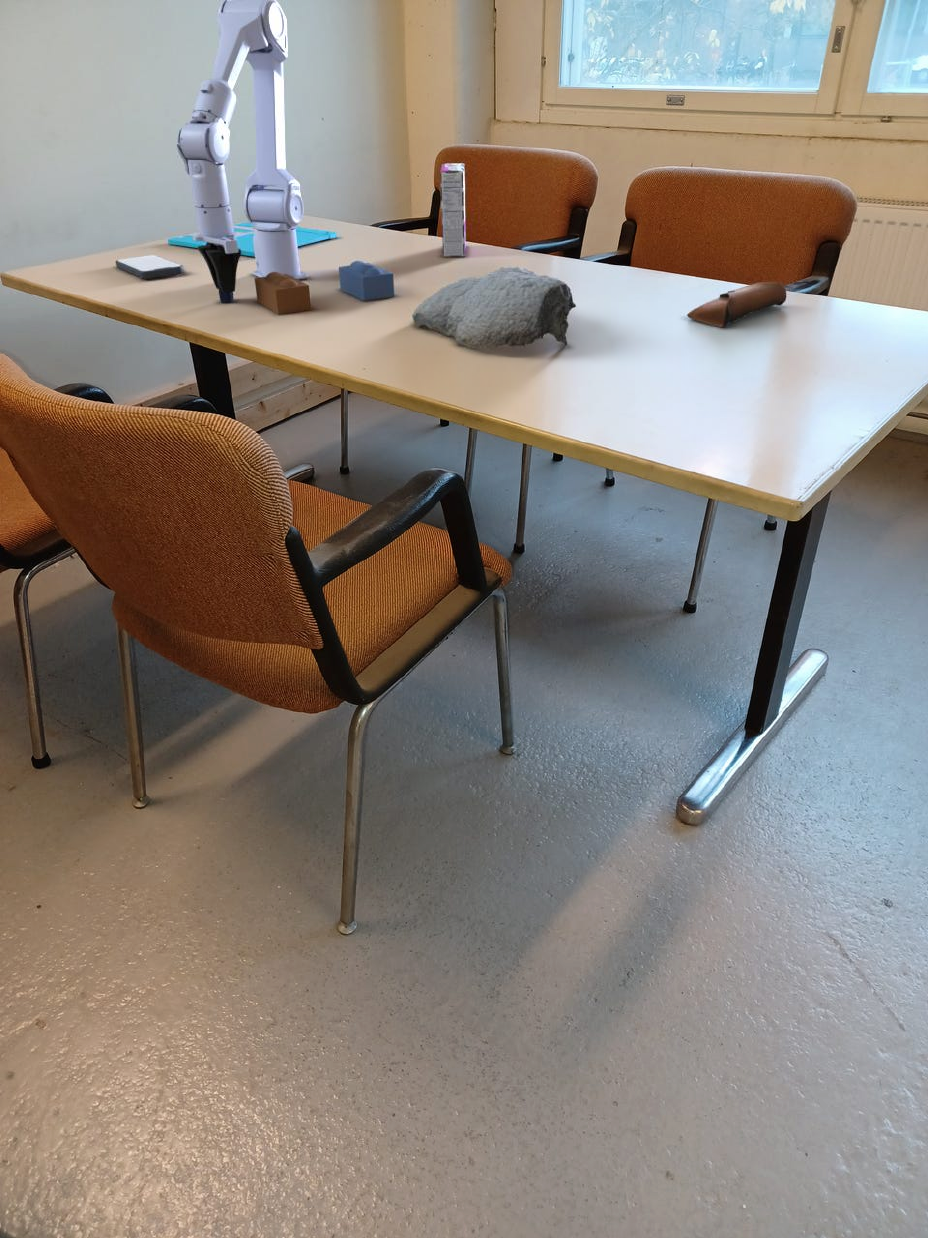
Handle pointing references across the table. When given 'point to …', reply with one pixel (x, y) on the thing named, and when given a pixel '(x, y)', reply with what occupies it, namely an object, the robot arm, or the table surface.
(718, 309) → the sunglasses case
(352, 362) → the table surface
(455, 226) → the candy bar box
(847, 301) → the table surface
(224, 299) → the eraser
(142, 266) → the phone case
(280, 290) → the brown lumpy block
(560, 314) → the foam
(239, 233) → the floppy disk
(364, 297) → the blue rectangular block
